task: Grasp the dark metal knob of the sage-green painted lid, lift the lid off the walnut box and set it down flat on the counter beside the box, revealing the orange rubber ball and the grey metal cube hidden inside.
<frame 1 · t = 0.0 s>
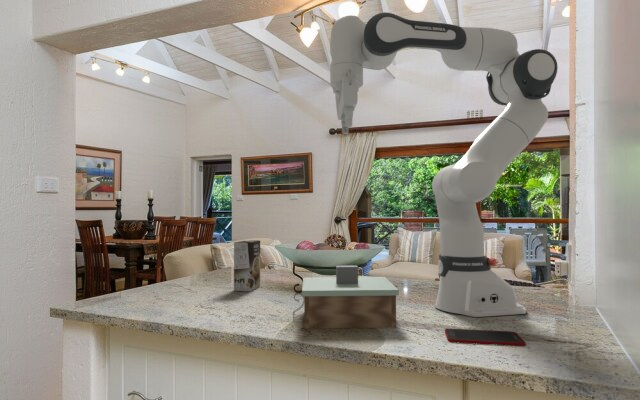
hand: (347, 130, 110), 48 cm above the worktop, fingers open, 8 cm apart
box: (347, 322, 97), on the worktop
lid: (347, 288, 98), point 8 cm above the worktop, touching box
orange ball: (366, 307, 101), point 3 cm above the worktop, touching box
coffee box: (247, 289, 139), on the worktop
cell phone: (483, 341, 85), on the worktop
metal cube: (326, 321, 94), point 1 cm above the worktop, touching box
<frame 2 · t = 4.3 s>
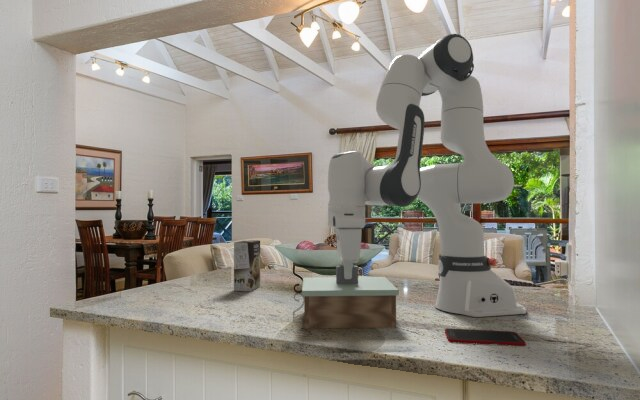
hand: (347, 277, 98), 11 cm above the worktop, fingers closed on lid, 2 cm apart
lid: (347, 288, 98), point 8 cm above the worktop, touching box, gripper
everything else where it was.
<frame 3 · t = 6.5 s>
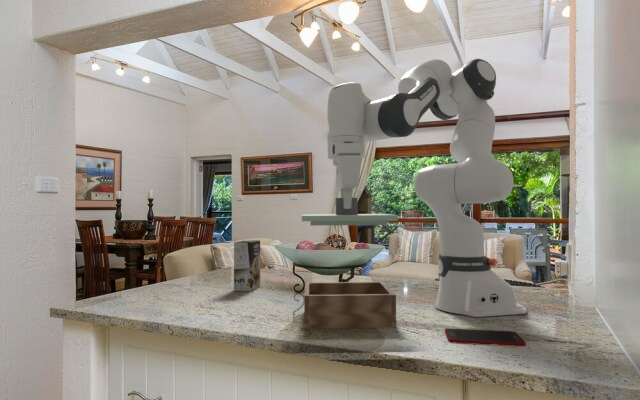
hand: (346, 208, 98), 27 cm above the worktop, fingers closed on lid, 2 cm apart
lid: (346, 219, 98), point 24 cm above the worktop, touching gripper
everything else where it was.
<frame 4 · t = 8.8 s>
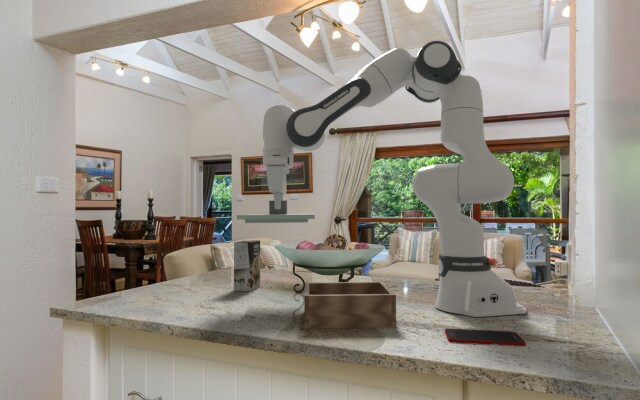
hand: (278, 209, 120), 27 cm above the worktop, fingers closed on lid, 2 cm apart
lid: (278, 218, 120), point 24 cm above the worktop, touching gripper
everything else where it was.
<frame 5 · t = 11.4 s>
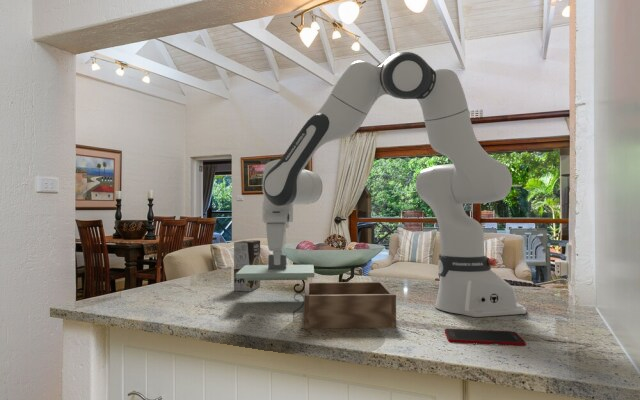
hand: (277, 263, 119), 11 cm above the worktop, fingers closed on lid, 2 cm apart
lid: (277, 272, 119), point 8 cm above the worktop, touching gripper
everything else where it was.
when the fingers open (6 cm above the worktop, at t = 13.3 s): lid drops 2 cm, point 1 cm above the worktop.
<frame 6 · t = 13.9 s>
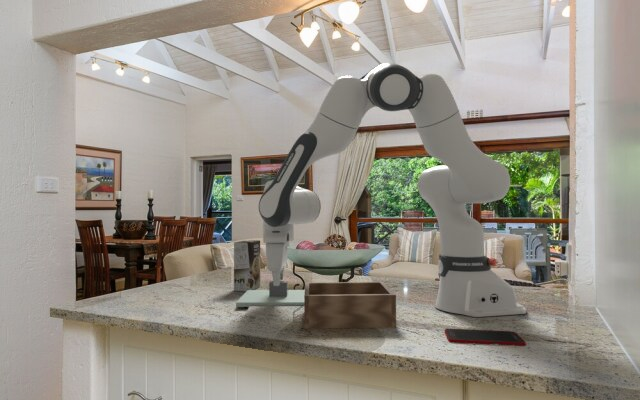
hand: (278, 282, 119), 6 cm above the worktop, fingers open, 8 cm apart
lid: (278, 299, 119), point 1 cm above the worktop
everything else where it was.
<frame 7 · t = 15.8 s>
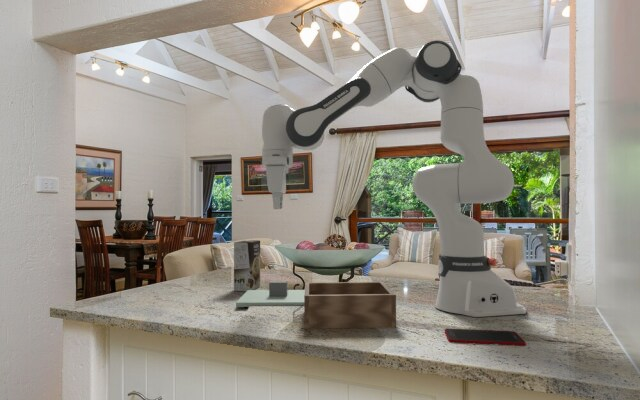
hand: (278, 209, 120), 27 cm above the worktop, fingers open, 8 cm apart
nothing on the worktop moved.
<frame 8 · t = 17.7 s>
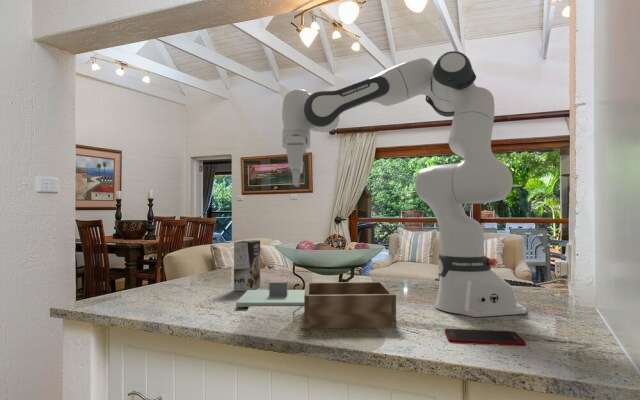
hand: (296, 185, 130), 34 cm above the worktop, fingers open, 8 cm apart
nothing on the worktop moved.
at the end: lid inside the target area (0.0 cm from its centre), point 0.6 cm above the worktop; lid touching worktop; lid tilted 0° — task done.
